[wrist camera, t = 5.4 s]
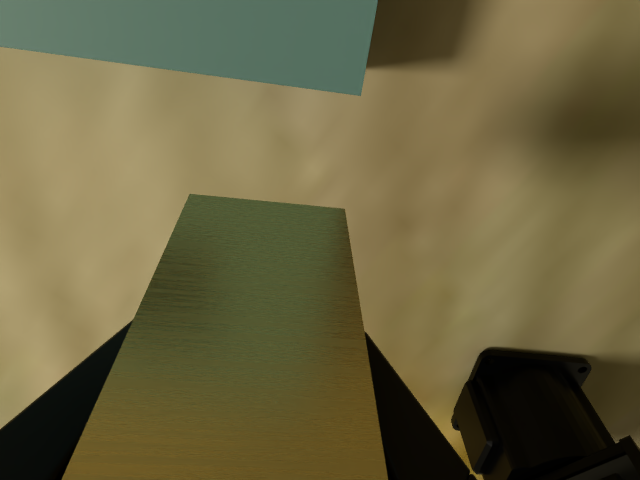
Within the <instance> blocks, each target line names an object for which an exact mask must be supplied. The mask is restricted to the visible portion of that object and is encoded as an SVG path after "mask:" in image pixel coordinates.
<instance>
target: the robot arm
mask: <svg viewBox="0 0 640 480" xmlns="http://www.w3.org/2000/svg"><path fill="white" fill-rule="evenodd" d="M132 322H133V320H132V321H131V322H130V323H128V324H127V325H126V326H125V327H123V328H122V329H121V330H120V331H119V332H117V333H116V334H115V335H114V336H113V337H111V338H110V339H109V340H108V341H107V342H105V343H104V344H103V345H102V346H100V347H99V348H98V349H97V350H96V351H94V352H93V353H92V354H91V355H90V356H88V357H87V358H86V359H85V360H84V361H82V362H81V363H80V364H79V365H77V366H76V367H75V368H74V369H73V370H71V371H70V372H69V373H68V374H67V375H65V376H64V377H63V378H62V379H60V380H59V381H58V382H57V383H56V384H54V385H53V386H52V387H51V388H50V389H48V390H47V391H46V392H45V393H44V394H42V395H41V396H40V397H39V398H37V399H36V400H35V401H34V402H33V403H31V404H30V405H29V406H28V407H27V408H25V409H24V410H23V411H22V412H21V413H19V414H18V415H17V416H16V417H14V418H13V419H12V420H11V421H10V422H8V423H7V424H6V425H5V426H4V427H2V428H1V429H0V480H62V477H63V475H64V473H65V471H66V469H67V466H68V464H69V462H70V460H71V457H72V455H73V453H74V451H75V449H76V446H77V444H78V442H79V440H80V437H81V435H82V433H83V431H84V428H85V426H86V424H87V422H88V420H89V417H90V415H91V413H92V411H93V408H94V406H95V404H96V402H97V399H98V397H99V395H100V393H101V391H102V388H103V386H104V384H105V382H106V379H107V377H108V375H109V373H110V371H111V368H112V366H113V364H114V362H115V359H116V357H117V355H118V353H119V350H120V348H121V346H122V344H123V342H124V339H125V337H126V335H127V333H128V330H129V328H130V326H131V324H132ZM364 332H365V331H364ZM365 339H366V345H367V351H368V357H369V364H370V370H371V376H372V382H373V389H374V395H375V401H376V407H377V414H378V420H379V426H380V432H381V439H382V445H383V451H384V457H385V464H386V470H387V476H388V480H477V479H476V477H475V476H474V475H473V474H470V470H469V468H468V467H467V466H466V464H465V463H464V462H463V460H462V459H461V458H460V456H459V455H458V454H457V452H456V451H455V450H454V449H453V447H452V446H451V445H450V443H449V442H448V441H447V439H446V438H445V437H444V435H443V434H442V433H441V431H440V430H439V429H438V427H437V426H436V425H435V423H434V422H433V421H432V419H431V418H430V417H429V415H428V414H427V413H426V411H425V410H424V409H423V407H422V406H421V405H420V403H419V402H418V401H417V399H416V398H415V397H414V395H413V394H412V393H411V391H410V390H409V389H408V387H407V386H406V385H405V383H404V382H403V381H402V379H401V378H400V377H399V375H398V374H397V373H396V371H395V370H394V369H393V367H392V366H391V365H390V363H389V362H388V361H387V359H386V358H385V357H384V355H383V354H382V353H381V351H380V350H379V349H378V347H377V346H376V345H375V343H374V342H373V341H372V339H371V338H370V337H369V336H368V334H367V333H366V332H365ZM487 359H488V360H487ZM590 371H591V365H590V364H589V362H588V361H587V360H586V359H583V358H572V357H561V356H550V355H539V354H528V353H517V352H506V351H495V350H486V351H483V352H482V353H480V355H479V356H478V358H477V361H476V363H475V365H474V368H473V370H472V372H471V375H470V377H469V379H468V381H467V382H466V383H465V385H464V387H463V389H462V392H461V394H460V396H459V399H458V401H457V403H456V406H455V408H454V414H453V416H452V419H451V423H452V426H453V428H454V429H455V430H458V431H460V432H461V436H462V439H463V442H464V445H465V448H466V451H467V455H468V458H469V461H470V464H471V467H472V470H473V471H474V472H475V473H476V474H482V476H483V479H484V480H640V448H639V447H638V446H637V444H636V443H635V442H634V441H633V439H632V438H631V437H630V435H629V436H627V437H625V438H622V439H620V440H619V443H615V442H614V440H613V439H612V437H611V435H610V434H609V432H608V431H607V429H606V427H605V426H604V424H603V423H602V421H601V419H600V418H599V416H598V415H597V413H596V411H595V410H594V408H593V406H592V405H591V403H590V402H589V400H588V398H587V397H586V395H585V394H584V392H583V390H582V389H581V386H582V384H583V382H584V381H585V379H586V378H587V376H588V374H589V373H590ZM469 474H470V475H469Z"/></svg>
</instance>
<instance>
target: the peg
mask: <svg viewBox="0 0 640 480" xmlns="http://www.w3.org/2000/svg"><path fill="white" fill-rule="evenodd" d="M62 480H388V476H387V470H386V464H385V457H384V451H383V445H382V439H381V432H380V426H379V420H378V414H377V407H376V401H375V395H374V389H373V382H372V376H371V370H370V364H369V357H368V351H367V345H366V339H365V332H364V326H363V320H362V314H361V307H360V301H359V295H358V289H357V282H356V276H355V270H354V264H353V257H352V251H351V245H350V239H349V232H348V226H347V220H346V214H345V209H341V208H330V207H320V206H310V205H299V204H289V203H278V202H268V201H258V200H247V199H237V198H226V197H216V196H206V195H195V194H190V195H189V197H188V199H187V201H186V203H185V206H184V208H183V210H182V212H181V215H180V217H179V219H178V221H177V224H176V226H175V228H174V230H173V232H172V235H171V237H170V239H169V241H168V244H167V246H166V248H165V250H164V252H163V255H162V257H161V259H160V261H159V264H158V266H157V268H156V270H155V273H154V275H153V277H152V279H151V281H150V284H149V286H148V288H147V290H146V293H145V295H144V297H143V299H142V301H141V304H140V306H139V308H138V310H137V313H136V315H135V317H134V319H133V322H132V324H131V326H130V328H129V330H128V333H127V335H126V337H125V339H124V342H123V344H122V346H121V348H120V350H119V353H118V355H117V357H116V359H115V362H114V364H113V366H112V368H111V371H110V373H109V375H108V377H107V379H106V382H105V384H104V386H103V388H102V391H101V393H100V395H99V397H98V399H97V402H96V404H95V406H94V408H93V411H92V413H91V415H90V417H89V420H88V422H87V424H86V426H85V428H84V431H83V433H82V435H81V437H80V440H79V442H78V444H77V446H76V449H75V451H74V453H73V455H72V457H71V460H70V462H69V464H68V466H67V469H66V471H65V473H64V475H63V477H62Z"/></svg>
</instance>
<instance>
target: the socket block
mask: <svg viewBox="0 0 640 480" xmlns="http://www.w3.org/2000/svg"><path fill="white" fill-rule="evenodd" d="M377 3H378V0H0V47H7V48H14V49H21V50H28V51H36V52H43V53H50V54H58V55H65V56H72V57H80V58H87V59H94V60H102V61H109V62H116V63H124V64H131V65H138V66H146V67H153V68H160V69H168V70H175V71H182V72H190V73H197V74H204V75H212V76H219V77H226V78H234V79H241V80H248V81H256V82H263V83H270V84H278V85H285V86H292V87H300V88H307V89H314V90H322V91H329V92H336V93H344V94H351V95H358V96H361V92H362V86H363V81H364V75H365V70H366V64H367V58H368V53H369V47H370V42H371V36H372V31H373V25H374V20H375V14H376V9H377Z"/></svg>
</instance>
